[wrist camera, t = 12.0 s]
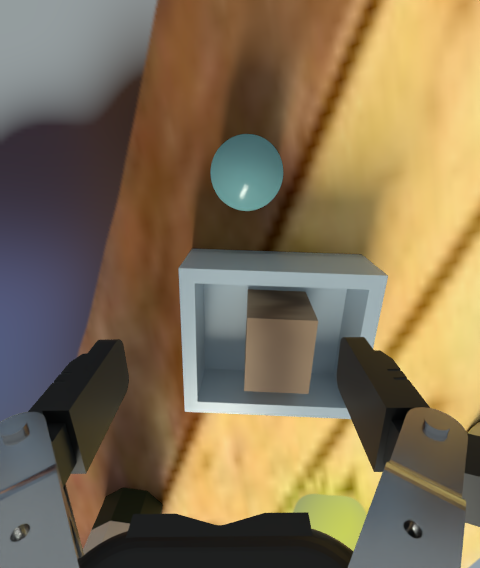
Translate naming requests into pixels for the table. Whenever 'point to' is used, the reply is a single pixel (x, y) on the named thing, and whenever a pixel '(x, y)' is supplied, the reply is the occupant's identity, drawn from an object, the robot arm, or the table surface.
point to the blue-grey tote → (233, 314)
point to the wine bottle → (120, 514)
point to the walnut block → (279, 341)
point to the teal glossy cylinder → (246, 172)
